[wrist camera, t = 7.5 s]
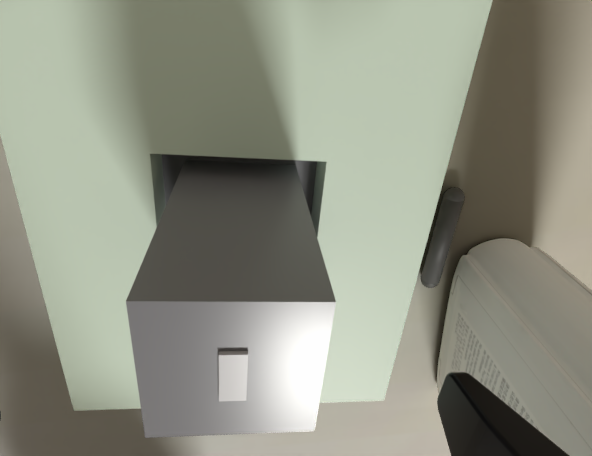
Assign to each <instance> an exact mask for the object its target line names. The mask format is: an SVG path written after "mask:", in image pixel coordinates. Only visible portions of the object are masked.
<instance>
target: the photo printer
mask: <svg viewBox="0 0 592 456" xmlns="http://www.w3.org/2000/svg"><path fill="white" fill-rule="evenodd" d="M451 372H466V373H468V374H470V375H471V376H473V377H474V378H475V379H476V380H478V381H479V382H480V383H481V384H483V385H484V386H485V387H486V388H487V389H489V390H490V391H491V392H492V393H494V394H495V395H496V396H497V397H498V398H500V399H501V400H502V401H503V402H505V403H506V404H507V405H508V406H509V407H511V408H512V409H513V410H514V411H516V412H517V413H518V414H519V415H521V416H522V417H523V418H524V419H525V420H527V421H528V422H529V423H530V424H532V425H533V426H534V427H535V428H536V429H538V430H539V431H540V432H541V433H543V434H544V435H545V436H546V437H547V438H549V439H550V440H551V441H552V442H554V443H555V444H556V445H557V446H558V447H560V448H561V449H562V450H563V451H565V452H566V453H567V454H568V455H570V456H592V290H590V289H589V288H588V287H587V286H586V285H585V284H583V283H582V282H581V281H580V280H578V279H577V278H576V277H575V276H574V275H573V274H571V273H570V272H569V271H568V270H566V269H565V268H564V267H563V266H561V265H560V264H559V263H558V262H557V261H555V260H554V259H553V258H552V257H551V256H549V255H548V254H547V253H545V252H544V251H542V250H541V249H539V248H537V247H531V248H529V247H528V246H527V245H526V244H524V243H522V242H521V241H518V240H515V239H508V238H500V239H494V240H490V241H486V242H483V243H481V244H479V245H477V246H475V247H473V248H472V249H470V250H469V251H468V254H467V255H463V256H462V257H461V258H460V260H459V262H458V265H457V268H456V271H455V274H454V277H453V281H452V286H451V291H450V297H449V301H448V307H447V313H446V318H445V324H444V330H443V336H442V343H441V349H440V356H439V361H438V372H437V388H438V393H440V390H441V388H442V385H443V382H444V380H445V377H446V375H447V374H448V373H451Z"/></svg>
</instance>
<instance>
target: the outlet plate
mask: <svg viewBox="0 0 592 456" xmlns="http://www.w3.org/2000/svg"><path fill="white" fill-rule="evenodd" d="M492 1H493V0H0V136H1V139H2V143H3V147H4V151H5V154H6V158H7V162H8V166H9V170H10V173H11V177H12V181H13V185H14V188H15V192H16V196H17V200H18V203H19V207H20V211H21V215H22V218H23V222H24V226H25V230H26V233H27V237H28V241H29V245H30V248H31V252H32V256H33V260H34V263H35V267H36V271H37V275H38V278H39V282H40V286H41V290H42V293H43V297H44V301H45V305H46V308H47V312H48V316H49V320H50V323H51V327H52V331H53V335H54V338H55V342H56V346H57V350H58V353H59V357H60V361H61V365H62V368H63V372H64V376H65V380H66V383H67V387H68V391H69V395H70V398H71V402H72V406H73V410H74V411H80V410H111V409H141V405H140V398H139V391H138V384H137V377H136V370H135V363H134V356H133V349H132V341H131V334H130V327H129V320H128V313H127V306H126V300H127V297H128V295H129V293H130V290H131V288H132V285H133V283H134V281H135V278H136V276H137V274H138V271H139V269H140V266H141V264H142V262H143V259H144V257H145V254H146V252H147V250H148V247H149V245H150V242H151V240H152V238H153V235H154V233H155V231H156V228H157V226H158V223H159V221H160V219H161V216H162V214H163V211H164V209H165V207H166V204H167V202H168V200H169V197H170V195H171V192H172V190H173V188H174V185H175V183H176V180H177V178H178V176H179V173H180V171H181V169H182V166H183V164H184V161H185V160H203V161H224V162H244V163H265V164H286V165H296V168H297V171H298V175H299V178H300V181H301V185H302V188H303V191H304V195H305V198H306V202H307V205H308V208H309V212H310V215H311V219H312V222H313V225H314V229H315V232H316V235H317V239H318V242H319V246H320V249H321V252H322V256H323V259H324V263H325V266H326V269H327V273H328V276H329V279H330V283H331V286H332V290H333V293H334V296H335V300H336V306H335V312H334V318H333V324H332V330H331V336H330V342H329V348H328V354H327V360H326V366H325V372H324V378H323V384H322V390H321V396H320V402H319V403H328V402H359V401H384V398H385V394H386V391H387V387H388V383H389V380H390V376H391V372H392V368H393V365H394V361H395V357H396V354H397V350H398V346H399V343H400V339H401V335H402V332H403V328H404V324H405V321H406V317H407V313H408V310H409V306H410V302H411V299H412V295H413V291H414V288H415V284H416V280H417V277H418V273H419V269H420V266H421V262H422V258H423V254H424V251H425V247H426V243H427V240H428V236H429V232H430V229H431V225H432V221H433V218H434V214H435V210H436V207H437V203H438V199H439V196H440V192H441V188H442V185H443V181H444V177H445V174H446V170H447V166H448V163H449V159H450V155H451V152H452V148H453V144H454V140H455V137H456V133H457V129H458V126H459V122H460V118H461V115H462V111H463V107H464V104H465V100H466V96H467V93H468V89H469V85H470V82H471V78H472V74H473V71H474V67H475V63H476V60H477V56H478V52H479V49H480V45H481V41H482V38H483V34H484V30H485V26H486V23H487V19H488V15H489V12H490V8H491V4H492ZM464 198H465V196H464V193H463V191H462V190H461V189H459V188H455V187H454V188H449V189H448V190H447V191H446V192H445V193H444V196H443V199H442V203H441V206H440V210H439V214H438V217H437V221H436V224H435V228H434V232H433V235H432V239H431V243H430V246H429V250H428V253H427V257H426V261H425V264H424V268H423V271H422V275H421V282H422V284H423V285H424V286H426V287H428V288H433V287H435V286H437V285H438V283H439V281H440V278H441V274H442V271H443V268H444V264H445V261H446V258H447V255H448V251H449V248H450V245H451V242H452V238H453V235H454V232H455V228H456V225H457V222H458V219H459V215H460V212H461V209H462V205H463V202H464Z"/></svg>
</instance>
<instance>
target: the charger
mask: <svg viewBox="0 0 592 456" xmlns="http://www.w3.org/2000/svg"><path fill="white" fill-rule="evenodd" d="M126 306H127V313H128V320H129V327H130V334H131V341H132V349H133V356H134V363H135V370H136V377H137V384H138V391H139V398H140V405H141V412H142V419H143V426H144V433H145V438H151V437H177V436H203V435H228V434H254V433H280V432H306V431H315V425H316V419H317V413H318V408H319V402H320V396H321V390H322V384H323V378H324V372H325V366H326V360H327V354H328V348H329V342H330V336H331V330H332V324H333V318H334V312H335V306H336V300H335V296H334V293H333V290H332V286H331V283H330V279H329V276H328V273H327V269H326V266H325V263H324V259H323V256H322V252H321V249H320V246H319V242H318V239H317V235H316V232H315V229H314V225H313V222H312V219H311V215H310V212H309V208H308V205H307V202H306V198H305V195H304V191H303V188H302V185H301V181H300V178H299V175H298V171H297V168H296V165H286V164H265V163H244V162H224V161H203V160H185V161H184V164H183V166H182V169H181V171H180V173H179V176H178V178H177V180H176V183H175V185H174V188H173V190H172V192H171V195H170V197H169V200H168V202H167V204H166V207H165V209H164V211H163V214H162V216H161V219H160V221H159V223H158V226H157V228H156V231H155V233H154V235H153V238H152V240H151V242H150V245H149V247H148V250H147V252H146V254H145V257H144V259H143V262H142V264H141V266H140V269H139V271H138V274H137V276H136V278H135V281H134V283H133V285H132V288H131V290H130V293H129V295H128V297H127V300H126Z"/></svg>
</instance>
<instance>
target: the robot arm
mask: <svg viewBox="0 0 592 456" xmlns="http://www.w3.org/2000/svg"><path fill="white" fill-rule="evenodd" d="M437 404H438V410H439V414H440V417H441V421H442V425H443V428H444V432H445V435H446V439H447V442H448V446H449V449H450V453H451V456H570V455H568V454H567V453H566V452H565V451H563V450H562V449H561V448H560V447H558V446H557V445H556V444H555V443H554V442H552V441H551V440H550V439H549V438H547V437H546V436H545V435H544V434H543V433H541V432H540V431H539V430H538V429H536V428H535V427H534V426H533V425H532V424H530V423H529V422H528V421H527V420H525V419H524V418H523V417H522V416H521V415H519V414H518V413H517V412H516V411H514V410H513V409H512V408H511V407H509V406H508V405H507V404H506V403H505V402H503V401H502V400H501V399H500V398H498V397H497V396H496V395H495V394H494V393H492V392H491V391H490V390H489V389H487V388H486V387H485V386H484V385H483V384H481V383H480V382H479V381H478V380H476V379H475V378H474V377H473V376H471V375H470V374H468V373H466V372H451V373H448V374H447V375H446V377H445V380H444V382H443V385H442V388H441V390H440V393H439V396H438V401H437ZM0 419H1V412H0Z"/></svg>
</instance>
